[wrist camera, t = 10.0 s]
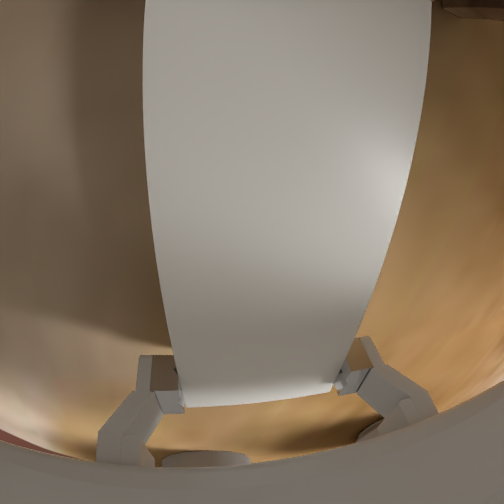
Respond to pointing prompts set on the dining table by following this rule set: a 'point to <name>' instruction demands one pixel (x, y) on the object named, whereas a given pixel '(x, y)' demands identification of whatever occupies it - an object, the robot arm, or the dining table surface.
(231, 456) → the cup
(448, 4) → the cabinet
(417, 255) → the dining table surface
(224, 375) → the white and orange box
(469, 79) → the dining table surface
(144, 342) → the dining table surface
